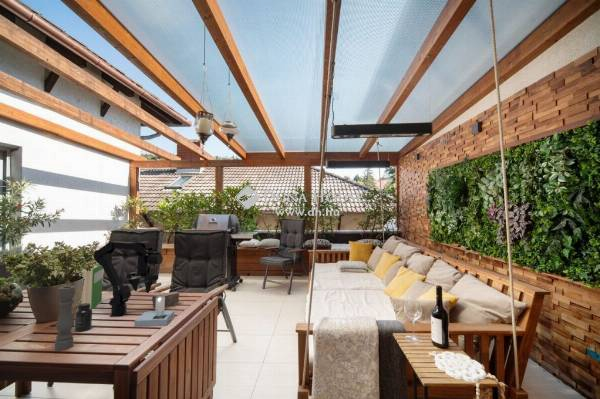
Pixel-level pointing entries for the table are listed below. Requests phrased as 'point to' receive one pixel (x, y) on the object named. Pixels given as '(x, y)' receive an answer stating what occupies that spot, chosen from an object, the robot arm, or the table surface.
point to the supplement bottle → (83, 317)
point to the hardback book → (92, 286)
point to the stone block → (168, 299)
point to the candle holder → (65, 319)
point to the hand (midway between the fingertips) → (141, 292)
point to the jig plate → (153, 319)
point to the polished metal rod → (159, 307)
